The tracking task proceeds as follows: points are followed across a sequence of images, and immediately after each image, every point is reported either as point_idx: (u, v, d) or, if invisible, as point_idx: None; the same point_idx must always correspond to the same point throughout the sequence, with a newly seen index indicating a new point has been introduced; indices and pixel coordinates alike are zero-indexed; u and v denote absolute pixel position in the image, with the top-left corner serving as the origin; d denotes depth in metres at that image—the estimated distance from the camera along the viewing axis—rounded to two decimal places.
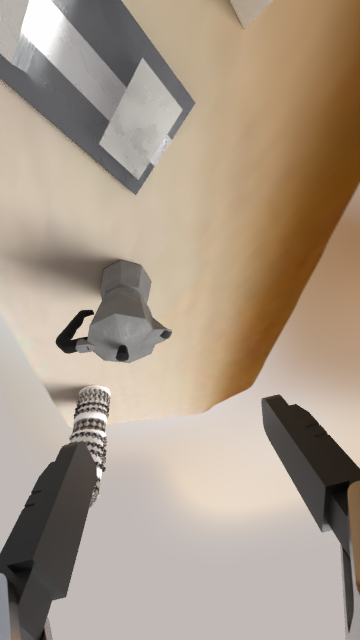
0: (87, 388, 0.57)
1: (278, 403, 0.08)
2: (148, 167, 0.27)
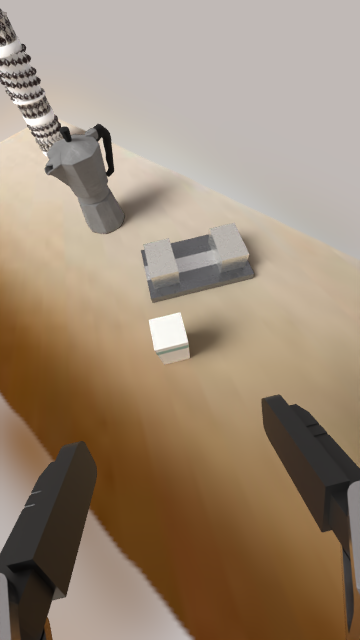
0: None
1: (278, 403, 0.08)
2: (146, 263, 0.42)
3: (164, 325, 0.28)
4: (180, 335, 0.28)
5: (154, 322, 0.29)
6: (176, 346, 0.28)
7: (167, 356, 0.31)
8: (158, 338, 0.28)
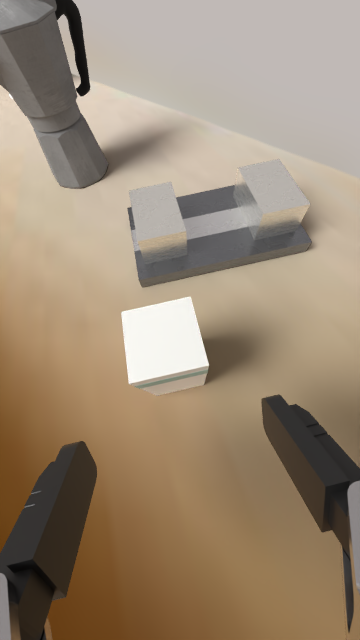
0: None
1: (278, 403, 0.08)
2: (134, 226, 0.27)
3: (155, 325, 0.13)
4: (190, 348, 0.12)
5: (133, 317, 0.13)
6: (181, 373, 0.12)
7: (161, 387, 0.15)
8: (139, 354, 0.12)
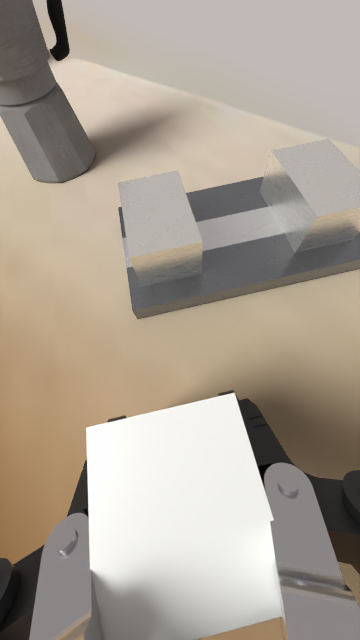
0: None
1: None
2: None
3: (161, 468, 0.06)
4: (248, 547, 0.05)
5: (111, 444, 0.06)
6: (227, 613, 0.05)
7: None
8: (123, 558, 0.05)
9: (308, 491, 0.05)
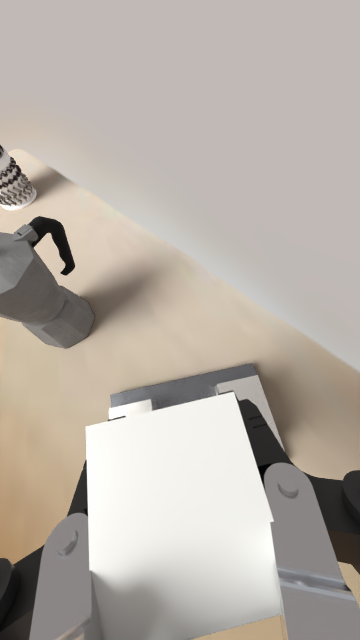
0: (30, 199, 0.48)
1: None
2: None
3: (160, 466, 0.06)
4: (247, 545, 0.05)
5: (111, 443, 0.06)
6: (227, 612, 0.05)
7: None
8: (122, 557, 0.05)
9: (308, 491, 0.05)
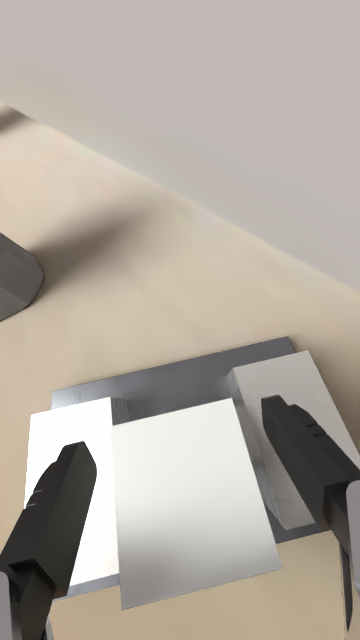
0: None
1: (277, 403, 0.08)
2: None
3: (171, 459, 0.07)
4: (241, 521, 0.06)
5: (130, 440, 0.07)
6: (225, 572, 0.06)
7: None
8: (143, 530, 0.06)
9: None
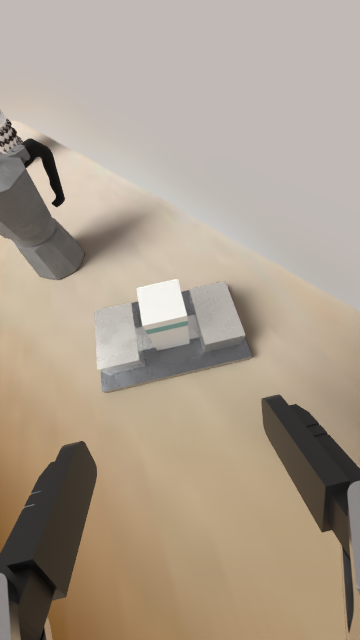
0: None
1: (278, 403, 0.08)
2: None
3: (156, 294, 0.22)
4: (177, 307, 0.21)
5: (143, 290, 0.22)
6: (171, 321, 0.21)
7: (160, 337, 0.24)
8: (147, 310, 0.21)
9: None
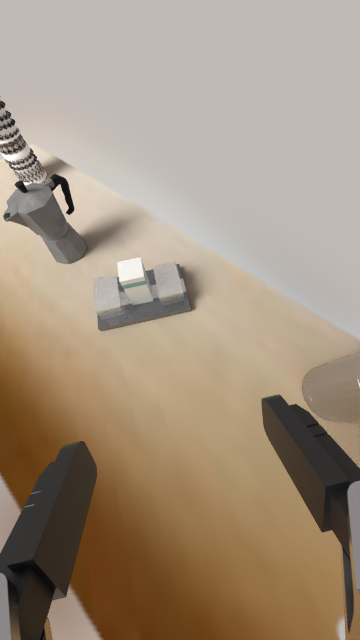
0: (42, 178, 0.69)
1: (278, 403, 0.08)
2: None
3: (128, 266, 0.39)
4: (139, 272, 0.38)
5: (121, 264, 0.39)
6: (136, 279, 0.38)
7: (132, 293, 0.41)
8: (122, 274, 0.38)
9: None
